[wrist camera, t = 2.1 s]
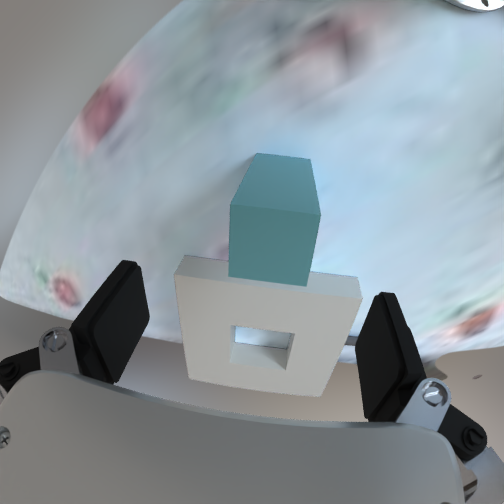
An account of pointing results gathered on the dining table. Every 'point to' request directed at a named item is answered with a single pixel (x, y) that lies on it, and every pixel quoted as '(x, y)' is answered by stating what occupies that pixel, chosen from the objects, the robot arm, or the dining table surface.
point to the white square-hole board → (263, 327)
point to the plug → (274, 221)
